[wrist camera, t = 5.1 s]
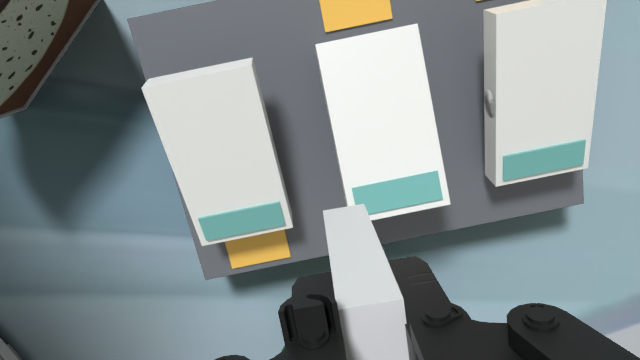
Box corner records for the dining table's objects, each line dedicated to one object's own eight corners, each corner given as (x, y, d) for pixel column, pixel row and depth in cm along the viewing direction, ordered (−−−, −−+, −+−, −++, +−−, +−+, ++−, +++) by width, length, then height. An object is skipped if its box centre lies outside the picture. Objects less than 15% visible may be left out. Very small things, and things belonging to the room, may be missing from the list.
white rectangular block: (483, 9, 24) (497, 14, 23) (588, -12, 24) (609, -9, 23) (485, 174, 29) (497, 188, 27) (572, 156, 29) (589, 169, 27)
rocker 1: (148, 78, 24) (140, 88, 23) (252, 57, 24) (251, 66, 23) (205, 230, 29) (201, 247, 28) (292, 213, 29) (293, 229, 27)
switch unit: (148, 22, 30) (117, 17, 25) (538, -59, 30) (590, -81, 25) (215, 254, 35) (201, 291, 30) (551, 186, 35) (597, 211, 29)
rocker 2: (315, 50, 26) (315, 43, 25) (411, 30, 26) (418, 22, 24) (349, 219, 27) (351, 224, 25) (442, 200, 27) (451, 204, 25)
